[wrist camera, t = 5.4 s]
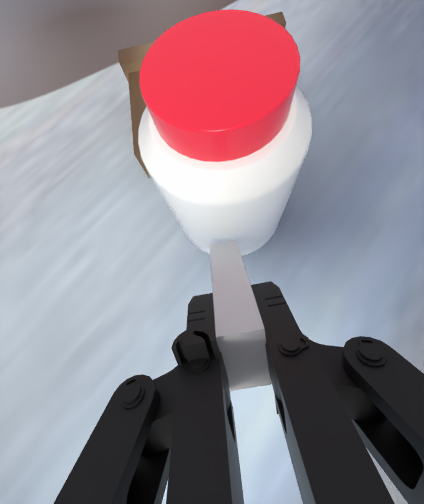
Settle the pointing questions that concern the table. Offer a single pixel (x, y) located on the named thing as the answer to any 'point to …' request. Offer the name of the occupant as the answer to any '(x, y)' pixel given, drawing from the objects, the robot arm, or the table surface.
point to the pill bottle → (224, 125)
